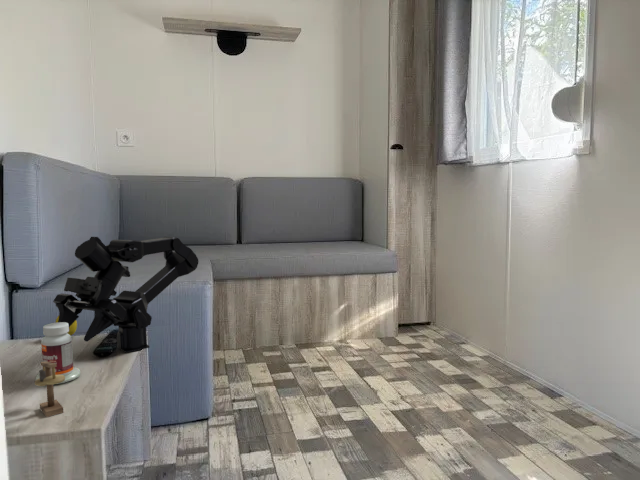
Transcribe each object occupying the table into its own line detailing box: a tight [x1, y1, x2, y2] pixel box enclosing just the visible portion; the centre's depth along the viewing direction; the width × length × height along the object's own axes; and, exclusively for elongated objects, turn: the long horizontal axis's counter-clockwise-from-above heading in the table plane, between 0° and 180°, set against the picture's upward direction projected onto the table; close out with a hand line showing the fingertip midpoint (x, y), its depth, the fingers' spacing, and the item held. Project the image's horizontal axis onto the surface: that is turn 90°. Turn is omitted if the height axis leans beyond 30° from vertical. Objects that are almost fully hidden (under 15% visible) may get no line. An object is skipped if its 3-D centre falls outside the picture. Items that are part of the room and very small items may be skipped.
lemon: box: [55, 315, 78, 337], centre depth 147 cm, size 6×6×8 cm
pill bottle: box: [40, 322, 74, 376], centre depth 117 cm, size 6×6×11 cm
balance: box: [34, 361, 65, 418], centre depth 101 cm, size 11×4×10 cm, turn 41°
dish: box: [35, 366, 81, 385], centre depth 117 cm, size 9×9×1 cm
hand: (71, 338), depth 120 cm, fingers open, 9 cm apart
